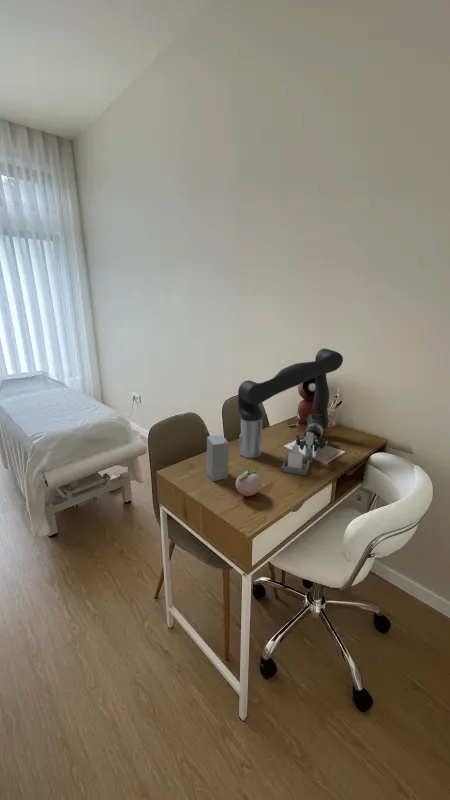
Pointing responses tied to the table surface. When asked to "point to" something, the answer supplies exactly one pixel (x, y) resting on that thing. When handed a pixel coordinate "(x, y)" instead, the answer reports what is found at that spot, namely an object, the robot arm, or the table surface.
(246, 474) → the decorative fruit
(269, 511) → the table surface
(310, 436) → the pull frame
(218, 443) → the skincare box
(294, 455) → the eye dropper bottle
